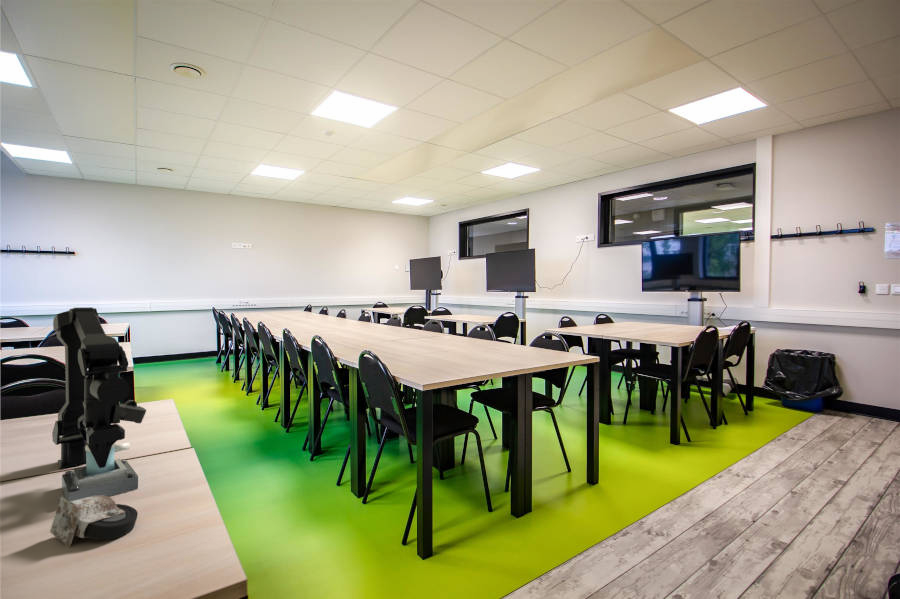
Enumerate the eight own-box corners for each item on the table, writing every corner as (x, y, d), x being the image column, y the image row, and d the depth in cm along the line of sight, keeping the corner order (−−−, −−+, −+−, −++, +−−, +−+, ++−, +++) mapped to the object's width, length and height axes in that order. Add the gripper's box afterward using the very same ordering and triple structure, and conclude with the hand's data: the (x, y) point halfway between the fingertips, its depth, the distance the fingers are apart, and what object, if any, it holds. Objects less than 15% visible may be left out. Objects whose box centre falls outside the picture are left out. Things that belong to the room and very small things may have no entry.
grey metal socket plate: (61, 487, 98) (62, 468, 98) (126, 472, 107) (126, 454, 107) (68, 507, 89) (68, 485, 89) (138, 488, 98) (138, 469, 98)
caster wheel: (140, 540, 82) (80, 561, 73) (106, 515, 87) (45, 533, 77) (150, 506, 83) (92, 523, 73) (116, 483, 87) (57, 496, 78)
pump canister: (83, 472, 98) (83, 444, 98) (126, 462, 104) (126, 435, 104) (87, 479, 94) (87, 450, 94) (131, 468, 100) (131, 441, 100)
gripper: (152, 398, 98) (151, 465, 98) (134, 385, 110) (133, 445, 110) (89, 406, 89) (88, 480, 90) (77, 392, 102) (77, 456, 102)
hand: (100, 464), depth 98 cm, fingers open, 5 cm apart
